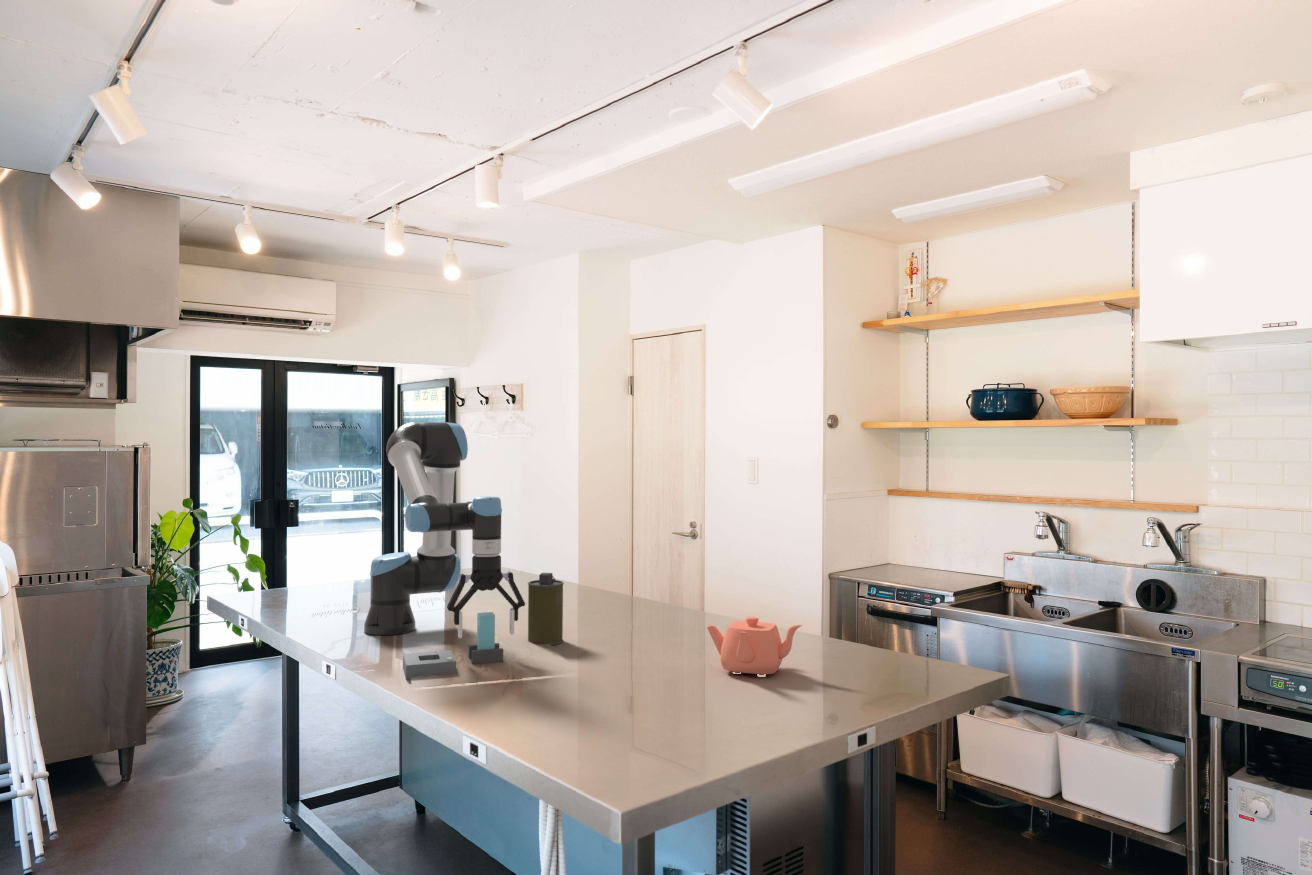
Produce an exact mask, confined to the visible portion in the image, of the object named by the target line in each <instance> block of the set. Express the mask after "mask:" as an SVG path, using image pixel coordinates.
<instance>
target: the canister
mask: <svg viewBox="0 0 1312 875" xmlns="http://www.w3.org/2000/svg"><path fill="white" fill-rule="evenodd" d="M538 577H539V579H537V580H530V581H528V582H527V585H528V588H527V589H528V591H527V593H528V595H527V596H528V597H527V598H528V600H527V602H528V603H527V606H528V609H527V611H528V613H527V619H528V620H527V641H528V642H529V643H532V644H536V645H550V646H557V645H559V644H563V643H564V639H563V638H564V637H563V631H564V630H563V628H564V627H563V626H564V625H563V624H564V623H563V622H564V621H563V620H564V610H563V609H564V608H563V607H564V584H565V583H564V581H562V580H559V579H556V578H555V577H554V576H553V572H541V573H540V574H539V576H538Z"/></svg>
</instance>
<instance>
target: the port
mask: <svg viewBox="0 0 1312 875" xmlns="http://www.w3.org/2000/svg"><path fill="white" fill-rule="evenodd" d="M402 670H403V674H404V679H405V680H406V681H408V680H412V679H411V678H413V677H415V678H417V677H426V676H428V677H430V676H439V675H453V674H457V660H456V658H455V656H454V654H453V652H452V650H451V649H450V650H449V649H448V650H437V651H436V650H434V651H423V652H410V653H402Z"/></svg>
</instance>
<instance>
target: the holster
mask: <svg viewBox="0 0 1312 875" xmlns="http://www.w3.org/2000/svg"><path fill="white" fill-rule="evenodd" d="M467 654H468V655H467V656H468V660H469V662H470V663H471V664H472V665H478V664H479V665H480V664H489V663H502V662H504V649H503V648H502V647H500V643H499V642H495V649H487V650H477V644H469V645H468V653H467Z"/></svg>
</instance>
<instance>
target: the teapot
mask: <svg viewBox="0 0 1312 875" xmlns="http://www.w3.org/2000/svg"><path fill="white" fill-rule="evenodd" d="M759 620H760V619H759V617H756V616H747V617H745V620H736V621H733V622H731V623H730V624H729V625H728V626H727V628H726V631H725V633H724V636H723V634H722V633H721V632H720V630H719V629H718V628H717V627H716V625H708V626H707V627H706V628H707V630H708V632H709V634H710V638H711V639H712V641H713V644H714V646H715V648H716V650H717V651H718V654H719V656H720V657H719V658H720V663H721V666H722V668H723V670H725V671H728V672H731V673H732V672H735V673H740V672H741V673H742V674H750V675H751V674H752V675H754V674H755V675H756V674H759V675H764V674H766V675H772V674H774V673H776V672H777V671H778V670H779V668H780V666H781V665H782V662H783V659H784V658H786V657H787V656H788V655H789V653H790V652H791V649H792V645H793V640H794V635H795V632H797V630H798V629H799V628H801V627H802V626H803V624H794V625H792V626H791V625H790V627H789V628H788V629H787V630H786V636H785V639H784V641H783V642H782V640H781V636H780V633H779V629H778V626H777V624H776V623H771V622H763V621H759Z"/></svg>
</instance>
